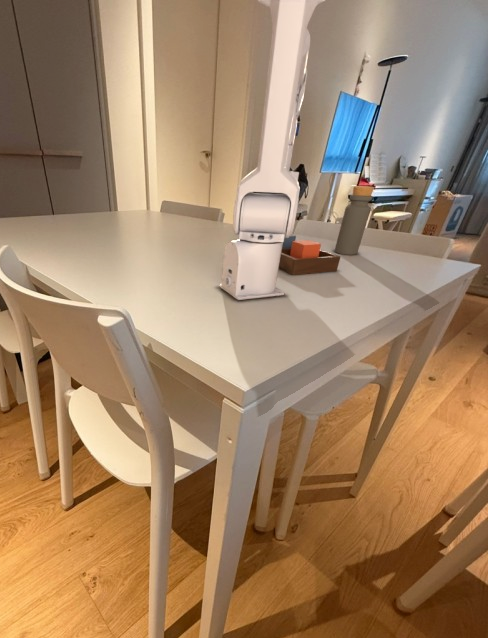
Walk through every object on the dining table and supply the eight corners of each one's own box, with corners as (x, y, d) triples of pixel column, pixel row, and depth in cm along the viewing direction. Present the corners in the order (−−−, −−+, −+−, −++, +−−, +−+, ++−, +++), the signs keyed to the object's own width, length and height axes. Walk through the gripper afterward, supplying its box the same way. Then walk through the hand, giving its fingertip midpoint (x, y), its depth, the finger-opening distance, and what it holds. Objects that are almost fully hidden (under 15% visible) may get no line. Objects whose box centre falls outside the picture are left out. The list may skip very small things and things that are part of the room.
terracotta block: (299, 266, 74) (304, 245, 72) (288, 261, 78) (292, 241, 75) (316, 265, 76) (321, 244, 73) (304, 260, 79) (309, 240, 76)
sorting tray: (336, 271, 75) (340, 256, 73) (292, 275, 71) (295, 259, 70) (287, 251, 90) (289, 239, 88) (249, 254, 86) (250, 241, 85)
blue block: (277, 256, 81) (280, 236, 79) (267, 252, 85) (270, 233, 82) (292, 255, 83) (296, 236, 80) (282, 251, 86) (285, 232, 83)
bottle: (353, 250, 92) (372, 186, 84) (360, 255, 88) (380, 187, 79) (331, 249, 93) (348, 185, 84) (337, 254, 88) (355, 187, 79)
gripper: (317, 145, 66) (301, 222, 73) (277, 146, 77) (267, 214, 85) (286, 143, 64) (274, 223, 71) (249, 145, 75) (242, 214, 83)
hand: (268, 218), depth 78 cm, fingers open, 7 cm apart
